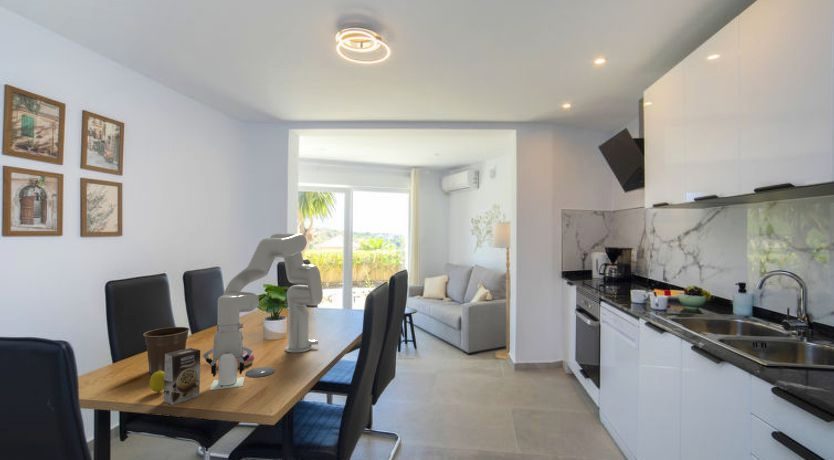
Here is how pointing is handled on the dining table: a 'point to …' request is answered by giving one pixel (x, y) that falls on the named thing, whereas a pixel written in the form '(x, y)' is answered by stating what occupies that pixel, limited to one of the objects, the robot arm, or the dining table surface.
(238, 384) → the card
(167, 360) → the coffee box
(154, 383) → the lemon
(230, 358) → the can
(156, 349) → the plant pot
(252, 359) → the donut
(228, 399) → the dining table surface
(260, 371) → the coaster
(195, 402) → the dining table surface
